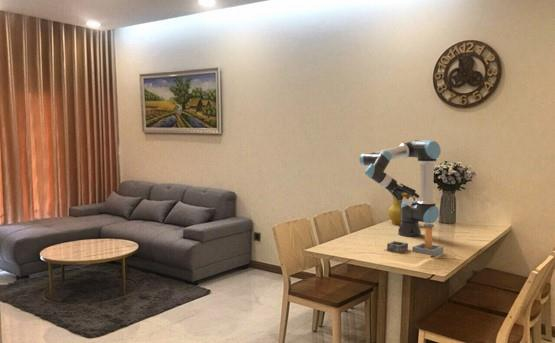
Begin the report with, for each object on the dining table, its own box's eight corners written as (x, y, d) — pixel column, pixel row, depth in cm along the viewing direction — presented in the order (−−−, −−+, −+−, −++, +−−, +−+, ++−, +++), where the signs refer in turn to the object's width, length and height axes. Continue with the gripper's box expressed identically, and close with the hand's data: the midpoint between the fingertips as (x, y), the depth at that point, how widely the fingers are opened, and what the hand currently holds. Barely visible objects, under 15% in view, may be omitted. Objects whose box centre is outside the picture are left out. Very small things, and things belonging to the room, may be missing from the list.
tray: (412, 253, 264) (412, 247, 263) (422, 249, 273) (422, 242, 273) (434, 257, 255) (434, 250, 255) (443, 253, 265) (443, 246, 264)
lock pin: (421, 251, 264) (422, 224, 262) (425, 249, 268) (426, 223, 266) (430, 253, 260) (431, 226, 259) (434, 251, 264) (435, 224, 263)
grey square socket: (383, 253, 266) (383, 243, 265) (393, 249, 275) (393, 240, 274) (402, 256, 258) (402, 247, 257) (411, 252, 267) (411, 243, 266)
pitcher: (396, 220, 365) (398, 189, 361) (417, 224, 350) (418, 192, 347) (383, 223, 354) (384, 191, 350) (403, 228, 340) (405, 195, 336)
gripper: (376, 191, 287) (404, 211, 288) (394, 183, 263) (424, 203, 264) (382, 182, 289) (409, 201, 290) (400, 172, 266) (430, 193, 266)
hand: (416, 202), depth 277 cm, fingers open, 13 cm apart
